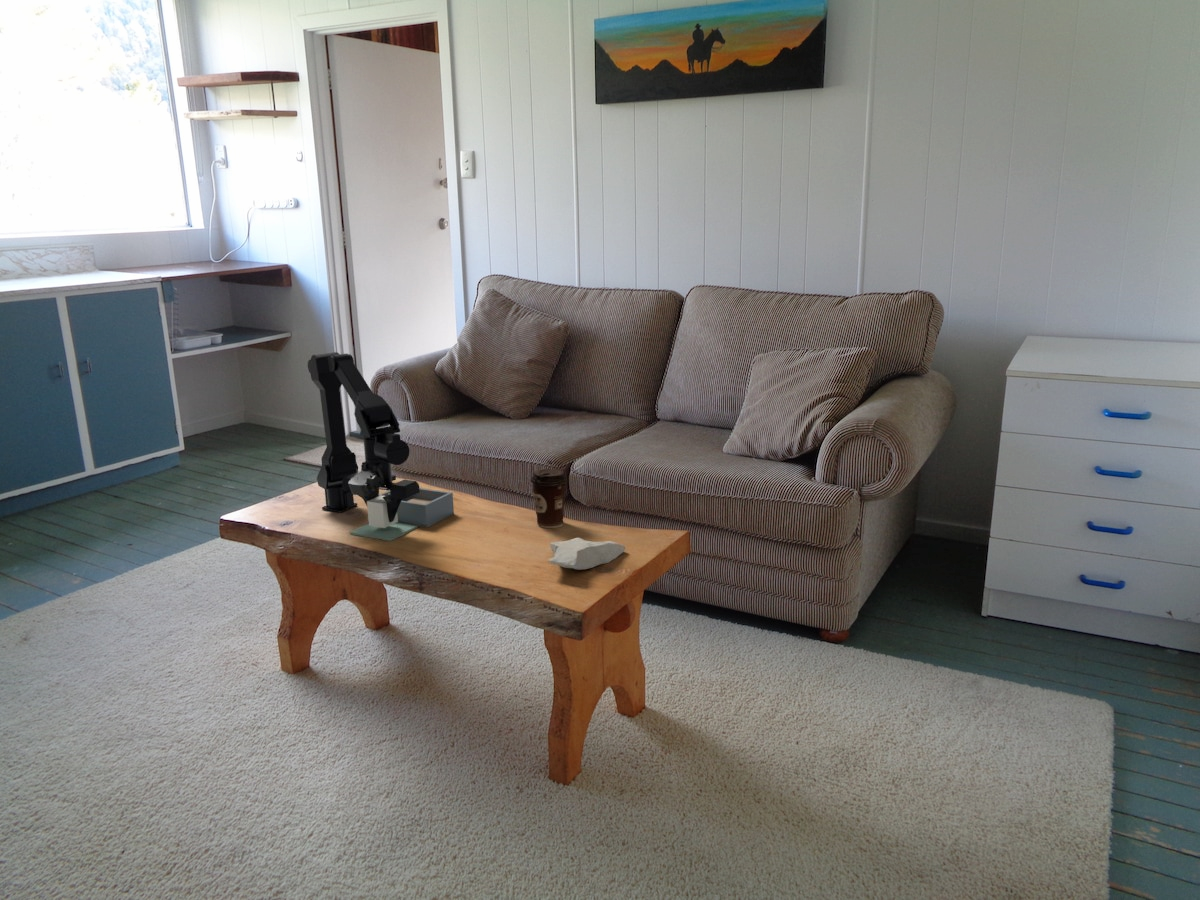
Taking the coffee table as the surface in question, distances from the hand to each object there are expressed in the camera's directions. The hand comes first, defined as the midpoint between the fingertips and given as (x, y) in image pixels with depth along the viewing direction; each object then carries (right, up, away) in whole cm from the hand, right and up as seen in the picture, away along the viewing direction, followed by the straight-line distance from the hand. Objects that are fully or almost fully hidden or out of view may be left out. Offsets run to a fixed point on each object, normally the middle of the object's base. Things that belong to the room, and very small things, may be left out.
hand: (383, 520), depth 216 cm
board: (0, -2, +1) cm, 3 cm away
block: (0, -1, 0) cm, 1 cm away
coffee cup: (+39, -1, +3) cm, 39 cm away
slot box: (+5, 0, +11) cm, 12 cm away
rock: (+46, -7, -20) cm, 51 cm away
